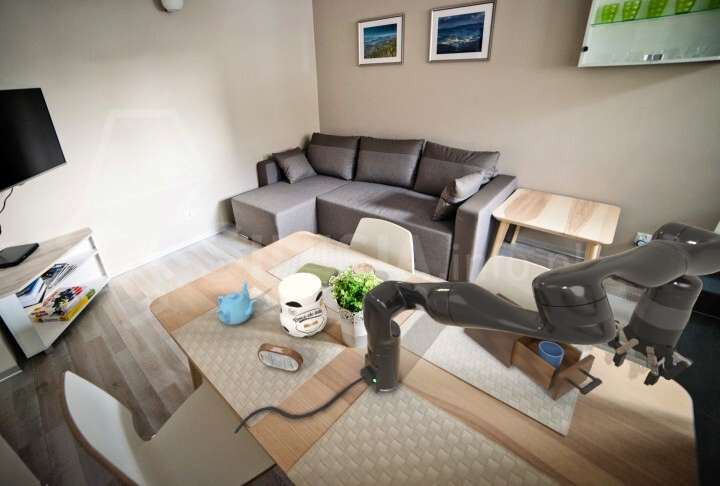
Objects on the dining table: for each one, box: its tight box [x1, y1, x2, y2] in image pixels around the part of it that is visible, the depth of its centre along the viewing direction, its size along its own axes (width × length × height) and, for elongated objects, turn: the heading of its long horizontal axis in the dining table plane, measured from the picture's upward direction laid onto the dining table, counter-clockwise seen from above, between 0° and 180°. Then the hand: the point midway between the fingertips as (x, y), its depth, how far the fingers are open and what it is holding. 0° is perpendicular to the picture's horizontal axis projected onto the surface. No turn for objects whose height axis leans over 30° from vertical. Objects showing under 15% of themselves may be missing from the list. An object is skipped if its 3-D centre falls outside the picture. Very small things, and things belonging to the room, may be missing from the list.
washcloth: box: [293, 262, 339, 287], centre depth 148 cm, size 13×18×3 cm
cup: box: [536, 341, 564, 376], centre depth 93 cm, size 6×6×7 cm
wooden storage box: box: [463, 292, 526, 369], centre depth 105 cm, size 17×15×11 cm
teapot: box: [214, 280, 257, 326], centre depth 126 cm, size 15×15×10 cm
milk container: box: [277, 272, 328, 339], centre depth 117 cm, size 17×17×18 cm
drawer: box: [511, 336, 603, 402], centre depth 92 cm, size 20×14×9 cm
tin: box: [257, 342, 304, 373], centre depth 103 cm, size 15×3×8 cm, turn 71°
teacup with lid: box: [352, 262, 376, 275], centre depth 137 cm, size 12×9×12 cm
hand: (632, 373), depth 74 cm, fingers open, 5 cm apart
